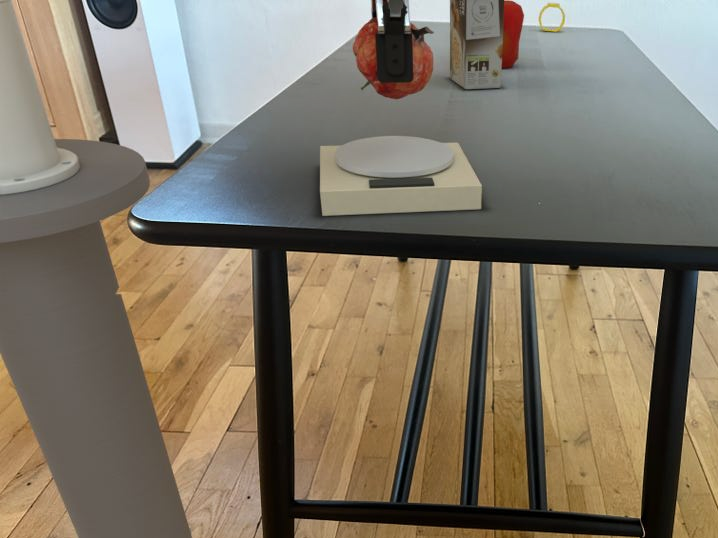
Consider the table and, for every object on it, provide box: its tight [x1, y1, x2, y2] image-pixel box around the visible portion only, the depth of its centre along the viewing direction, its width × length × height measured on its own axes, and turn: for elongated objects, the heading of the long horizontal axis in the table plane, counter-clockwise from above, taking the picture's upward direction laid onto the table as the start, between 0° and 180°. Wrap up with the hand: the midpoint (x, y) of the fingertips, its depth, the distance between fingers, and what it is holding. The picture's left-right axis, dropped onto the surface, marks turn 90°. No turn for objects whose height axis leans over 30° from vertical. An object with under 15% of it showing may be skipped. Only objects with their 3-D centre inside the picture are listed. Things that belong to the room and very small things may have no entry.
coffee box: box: [449, 0, 505, 90], centre depth 108 cm, size 9×6×16 cm
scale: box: [319, 135, 483, 217], centre depth 70 cm, size 15×14×3 cm
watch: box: [538, 2, 566, 33], centre depth 160 cm, size 6×3×6 cm, turn 92°
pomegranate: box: [352, 17, 435, 100], centre depth 65 cm, size 7×7×10 cm
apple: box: [502, 0, 525, 69], centre depth 122 cm, size 9×8×12 cm
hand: (391, 71), depth 65 cm, fingers closed on pomegranate, 7 cm apart
